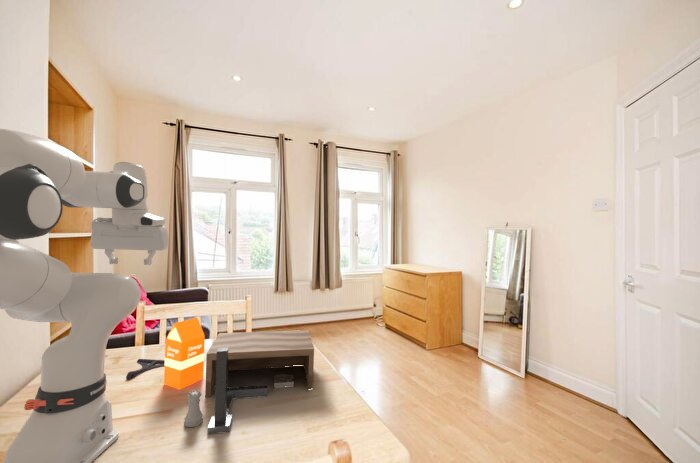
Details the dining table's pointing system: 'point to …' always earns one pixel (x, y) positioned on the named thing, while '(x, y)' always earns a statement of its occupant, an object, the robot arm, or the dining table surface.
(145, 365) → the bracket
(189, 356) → the orange juice
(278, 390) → the dining table surface
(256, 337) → the low cabinet
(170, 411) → the dining table surface
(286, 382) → the block
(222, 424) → the hook tool
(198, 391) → the rook chess piece
